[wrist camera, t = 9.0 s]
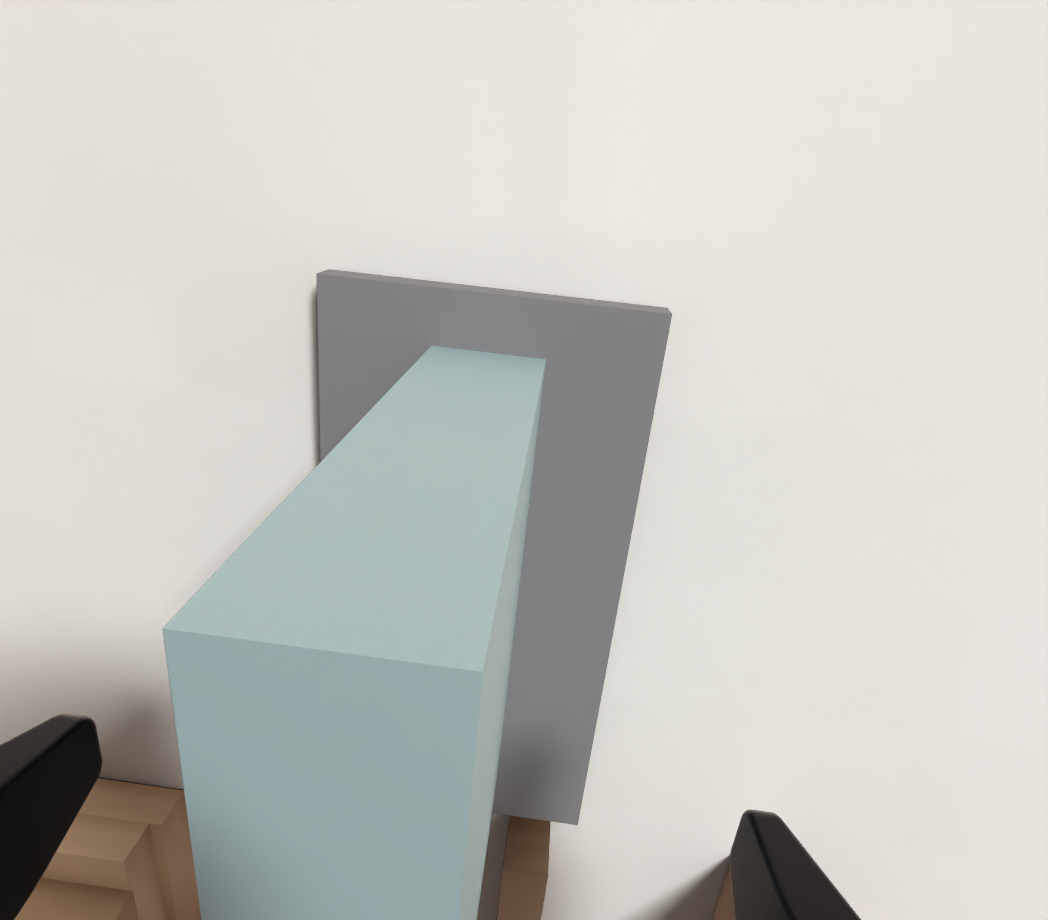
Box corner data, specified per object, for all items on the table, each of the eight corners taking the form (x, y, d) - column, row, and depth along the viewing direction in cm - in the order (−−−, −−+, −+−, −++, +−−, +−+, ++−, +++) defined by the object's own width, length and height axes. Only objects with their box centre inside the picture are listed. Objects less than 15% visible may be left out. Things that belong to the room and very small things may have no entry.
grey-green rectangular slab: (496, 781, 15) (417, 1337, 8) (410, 770, 15) (253, 1310, 8) (546, 359, 11) (482, 670, 4) (431, 345, 11) (163, 628, 4)
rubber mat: (577, 803, 16) (577, 825, 16) (336, 769, 16) (327, 789, 16) (667, 307, 11) (671, 314, 11) (328, 269, 12) (316, 273, 11)
